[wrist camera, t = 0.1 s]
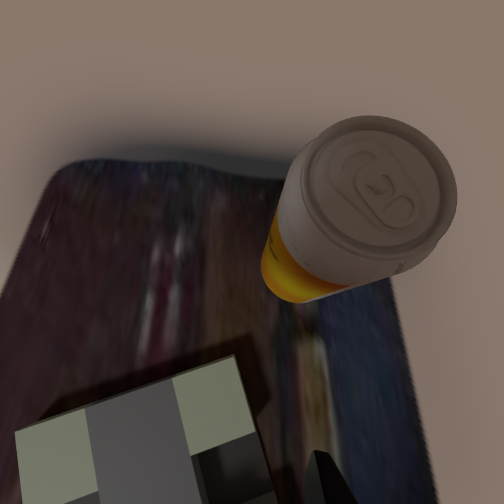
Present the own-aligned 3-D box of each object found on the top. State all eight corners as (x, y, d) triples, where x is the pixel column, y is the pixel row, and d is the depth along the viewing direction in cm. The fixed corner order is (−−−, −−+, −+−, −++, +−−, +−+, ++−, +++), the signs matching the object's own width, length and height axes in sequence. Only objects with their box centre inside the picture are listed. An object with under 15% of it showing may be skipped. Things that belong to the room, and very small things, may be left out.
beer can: (303, 220, 25) (388, 79, 11) (345, 277, 24) (507, 206, 9) (246, 257, 24) (254, 158, 10) (288, 318, 23) (369, 310, 8)
